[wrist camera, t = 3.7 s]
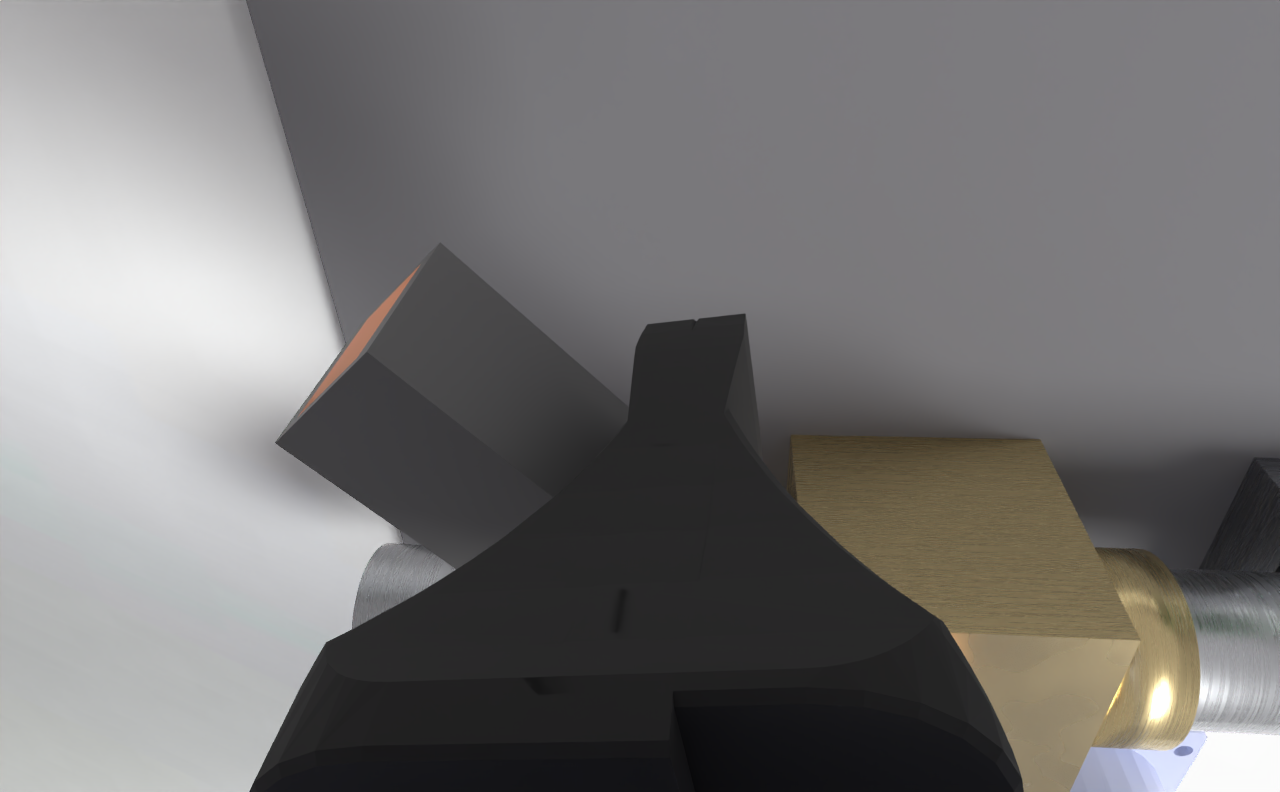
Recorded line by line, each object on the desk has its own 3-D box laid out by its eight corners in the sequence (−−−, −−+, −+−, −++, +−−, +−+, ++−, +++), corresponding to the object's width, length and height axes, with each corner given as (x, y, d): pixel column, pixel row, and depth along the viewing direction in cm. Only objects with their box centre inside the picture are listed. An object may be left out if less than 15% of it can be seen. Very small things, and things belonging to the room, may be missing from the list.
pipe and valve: (1371, 608, 21) (1550, 830, 16) (447, 575, 23) (378, 762, 19) (1482, 447, 18) (1741, 665, 13) (409, 427, 20) (316, 607, 16)
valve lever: (1031, 732, 16) (1093, 921, 13) (931, 770, 17) (969, 953, 14) (458, 219, 11) (367, 356, 8) (362, 317, 12) (252, 469, 9)
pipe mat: (1358, 654, 23) (1369, 669, 22) (433, 616, 25) (428, 629, 25) (1914, -122, 12) (1953, -120, 12) (245, -56, 15) (231, -51, 14)
